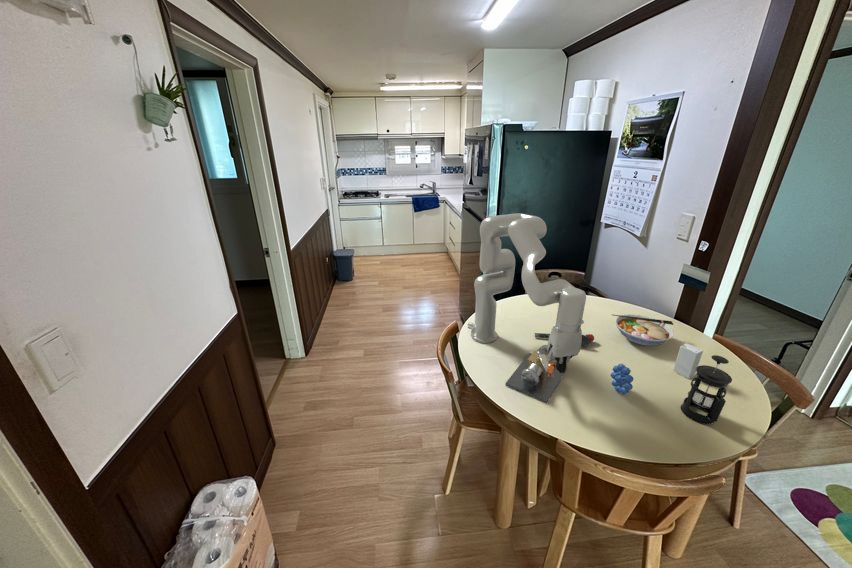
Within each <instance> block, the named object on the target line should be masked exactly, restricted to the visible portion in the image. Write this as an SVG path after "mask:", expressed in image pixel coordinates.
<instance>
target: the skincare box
mask: <svg viewBox="0 0 852 568" xmlns="http://www.w3.org/2000/svg"><path fill="white" fill-rule="evenodd" d="M703 353H704V350H702V349H700V348H698V347H695V346H694V345H692V344H689V343H684V344H681V345H680V347H679V350H678V354H677V355H676V356H677V357H676V359H675V364H674V366H673V369H672V371H673V372H675V373H677V374H679V375H681V376H682V377H684V378H686V379H688V380H690V379H693V378H695V376H696V373H697V371H696V368H697V367H698V366H700V365H699V364H700V361H701V358H702V355H703Z"/></svg>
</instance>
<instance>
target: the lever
mask: <svg viewBox="0 0 852 568" xmlns="http://www.w3.org/2000/svg"><path fill="white" fill-rule="evenodd" d="M536 352H537V354H536V355H537V357H540V360H541V362H542V364H543V366H544V369H545V371H546V375H547V376H548V377H553V376H554V370H555V364H554V363H552V362H549V363H548V361H547V359H546V357H545V355H544V353H545V352H544V351H543V350H539V349H538V350H536Z"/></svg>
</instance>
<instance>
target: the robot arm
mask: <svg viewBox="0 0 852 568" xmlns="http://www.w3.org/2000/svg"><path fill="white" fill-rule="evenodd" d="M547 230H548V228H547V224H546V222H545V221H544V219H542V218H541V217H539V216H537V215H531V214H526V213H522V212H521V213H509V214H499V215H493V216H489V217H485V218H484V219H483V220H482V221H481V222H480V225H479V235H480V251H479V253H480V254H479V269H480V271H481V272H482V273H483V274H482V275H479V276H477V277H476V279H474V282H473V284H474V292H475V294H474V295H475V305H474V306H475V311H474V312H475V313H474V323H473V322H470V321H469V322H468V323H467V329H470V330H471V333H470V337H471V339H472V340H474V341H476V342H477V343H481V344H489V343H490V344H491V343H493V342H495V341H497V339H498V333H497V331H496V318H497V317H496V316H497V304H498V303H497V301H496V299H495V298H494V295H498V294H501V293H506V292H508V291H510V290H511V289H512V287H513V283H514V277H515V269H516V257H515V254H514V252H513V251H512V250H511V249H509V248H502V239H500V238H502V237H509V238H510V240H511V242H512V245H513V246H514V247H515V249H516V252H517V253H518V255H519V256H520V258H521V261H522V262H523V263H522V264H523V265H522V266H521V267H522V268H521V282H522V286H523V289H524V291H525V292H526V294H527V297H529V299H530V300H531V302H532V303H533V304H535V305H536V306H538V307H545V306H549V305H554V304H558V307H557V313H556V319H555V325H554V326H552V328H551V330H550V333H549V334H550V336H549V338H548V340H547V344H546V345H547V351H550V352H549V354H548V358H549V359H553V360H555V362H556V369H557V370H558V371H559V372H560V373H564V374H565V373H566V371H567V369H566V366H567V365H568V364H569V362H570V360H571V359H572V358H573V357H576V356H578V355H579V353H580V352H581V349H582V348H581V342H582V335H583V333H582V328H581V327H582V325H583V324H585V321H584V320H583V318H584V312H585V306H586V301H587V294H586V292H585V291H584V290H582V289H580V288H577V287H575V286H574V285H572V284H571V283H570V282H568V280H566V279H562V278H561V279H560V278H559V279H554V280H549V281H545V282H541V281H540V280H539V278H538V276H537V274H536V270H535V267H536V264H538V263H539V262H540V261H542V260H543V259H544V258H545V256H546V254H547V250H546V248H545V247H544V245H543V243H542V241H541V240H540V239H542V238H544V237H545V236H546V234H547ZM567 367H568V366H567ZM565 370H566V371H565Z"/></svg>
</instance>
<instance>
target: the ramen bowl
mask: <svg viewBox="0 0 852 568" xmlns="http://www.w3.org/2000/svg"><path fill="white" fill-rule="evenodd" d="M612 316H613V317H616V318H615V325H616V328H617V329H618V331H619V332H620V334H621V335H622V336H623V337H625V338H626V339H627V340H629V341H631V342H632V343H635V344H639V345H642V346H657V345H659V346H660V345H661V344H665V342H667V341H669V340H670V339H671V338H673V337H674V330H673V329H672V328H671V327H670V326H671V325H672V326H674V323H673V320H665V319H657V318H653V317H650V316H647V315H646V316H645V315H641V314H635V313H634V314H631V313H628V314H627V313H626V314H622V315H621V314H619V315H618V314H612ZM669 325H670V326H669Z"/></svg>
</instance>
